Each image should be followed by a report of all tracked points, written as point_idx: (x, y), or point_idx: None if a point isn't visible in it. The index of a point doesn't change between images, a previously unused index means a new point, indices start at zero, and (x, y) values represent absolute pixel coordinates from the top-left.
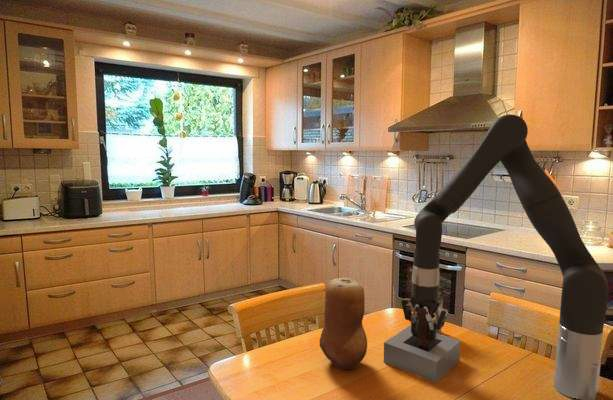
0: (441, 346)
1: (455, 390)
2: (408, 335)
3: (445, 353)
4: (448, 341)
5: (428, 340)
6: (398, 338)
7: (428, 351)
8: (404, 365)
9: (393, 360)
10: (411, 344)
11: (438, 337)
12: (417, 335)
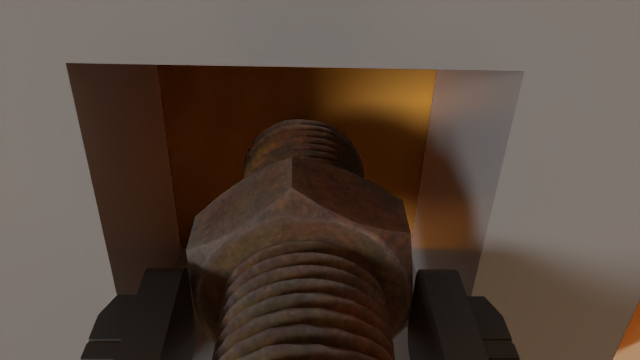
0: (548, 234)
1: (634, 312)
2: (58, 235)
3: (618, 333)
4: (623, 38)
5: (398, 332)
6: (38, 356)
7: (362, 171)
8: None
9: None
10: (133, 156)
11: (439, 6)
12: (209, 304)
